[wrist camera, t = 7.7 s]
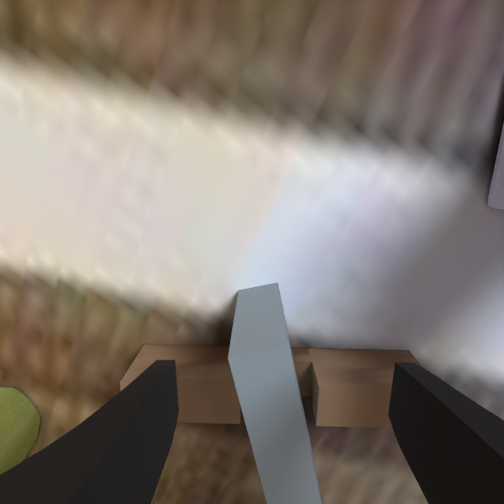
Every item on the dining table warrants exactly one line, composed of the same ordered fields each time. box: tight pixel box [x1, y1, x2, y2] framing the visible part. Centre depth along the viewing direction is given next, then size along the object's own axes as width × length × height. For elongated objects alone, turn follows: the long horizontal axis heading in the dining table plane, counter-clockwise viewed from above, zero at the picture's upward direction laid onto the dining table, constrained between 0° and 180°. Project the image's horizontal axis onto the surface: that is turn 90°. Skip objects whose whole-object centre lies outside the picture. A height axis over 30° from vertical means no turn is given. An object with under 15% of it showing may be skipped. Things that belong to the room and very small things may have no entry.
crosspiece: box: [228, 283, 322, 504], centre depth 18 cm, size 12×3×8 cm, turn 12°
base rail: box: [120, 344, 423, 428], centre depth 20 cm, size 18×3×4 cm, turn 89°
